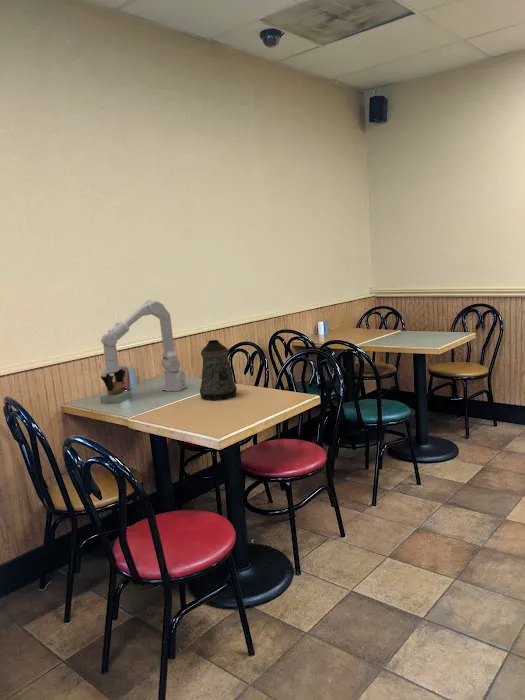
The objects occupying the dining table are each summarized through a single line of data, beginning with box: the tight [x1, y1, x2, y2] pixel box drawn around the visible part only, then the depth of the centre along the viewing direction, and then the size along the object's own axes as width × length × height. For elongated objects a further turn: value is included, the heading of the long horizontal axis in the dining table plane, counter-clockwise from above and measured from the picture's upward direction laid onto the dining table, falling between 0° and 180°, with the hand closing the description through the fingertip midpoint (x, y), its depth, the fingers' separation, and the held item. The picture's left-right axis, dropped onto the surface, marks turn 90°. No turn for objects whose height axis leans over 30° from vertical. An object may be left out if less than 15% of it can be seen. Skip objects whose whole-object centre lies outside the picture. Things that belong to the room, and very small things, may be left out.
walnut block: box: [106, 381, 123, 395], centre depth 255 cm, size 5×5×5 cm
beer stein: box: [199, 339, 238, 402], centre depth 248 cm, size 16×19×25 cm
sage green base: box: [99, 390, 133, 404], centre depth 256 cm, size 10×10×3 cm
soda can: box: [113, 364, 131, 391], centre depth 274 cm, size 7×7×12 cm
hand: (115, 388), depth 255 cm, fingers open, 7 cm apart
